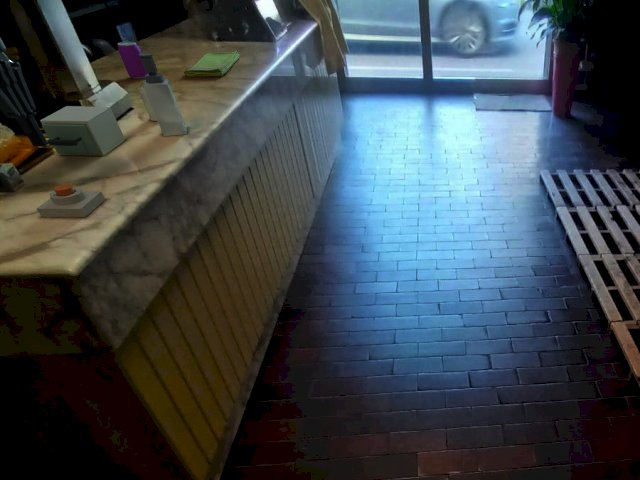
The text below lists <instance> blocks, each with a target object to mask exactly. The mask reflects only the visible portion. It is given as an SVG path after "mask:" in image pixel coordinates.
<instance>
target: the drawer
mask: <svg viewBox="0 0 640 480" xmlns="http://www.w3.org/2000/svg"><path fill="white" fill-rule="evenodd" d="M41 127H42V129H43V131H44V132H45V134H46V136H47V137H48V139H46V141H47V142H48V145H49V146H51V147H52V146H53V149H54V150H55V152H56V153H57V154H58V155H59V154H99V153H100V151H99V149H98V147H97V145H96V143H95V141H94V139H93V137H92V135H91V133H90V131H89V129H88V127H87V125H86V124H43V125H42V124H41Z"/></svg>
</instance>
